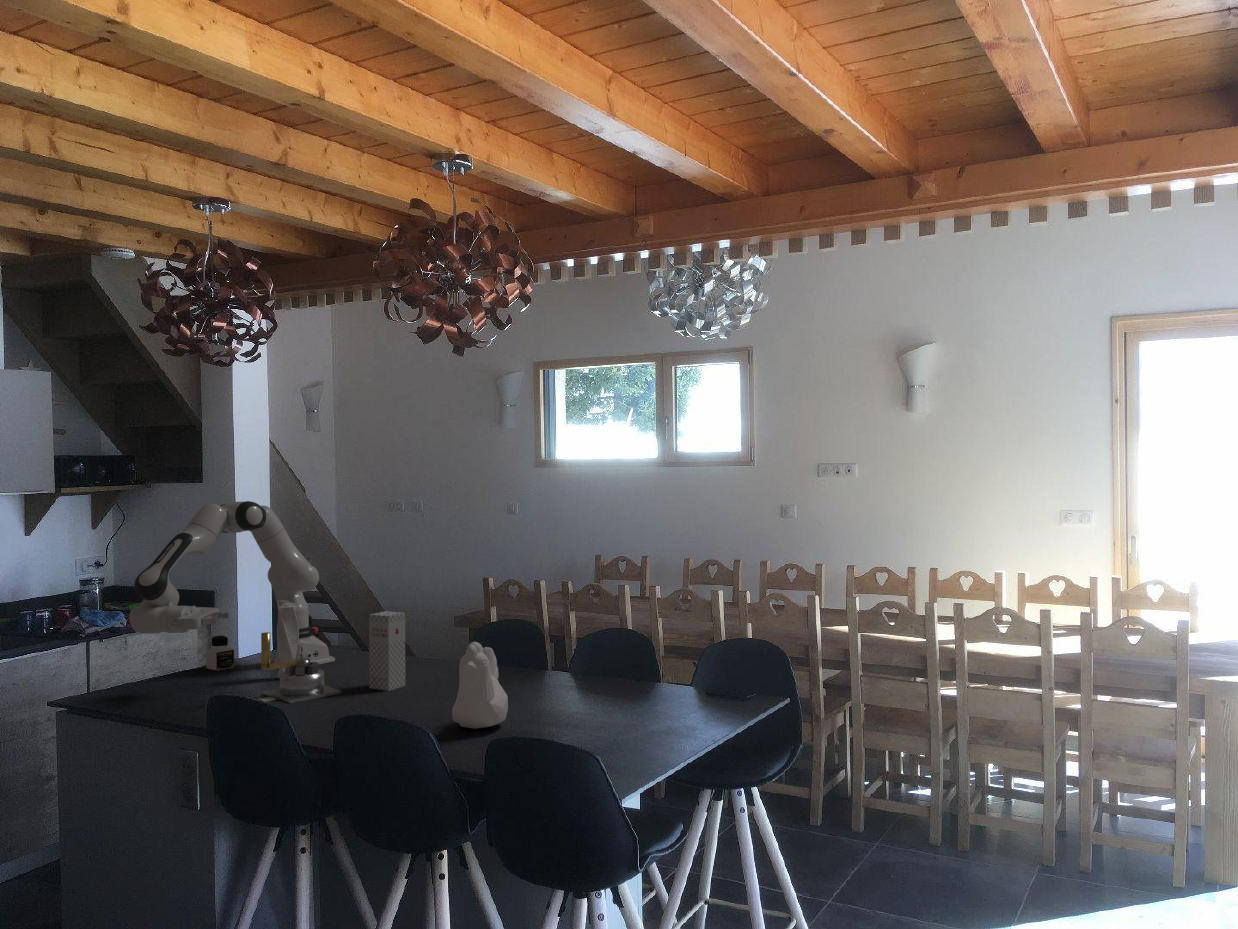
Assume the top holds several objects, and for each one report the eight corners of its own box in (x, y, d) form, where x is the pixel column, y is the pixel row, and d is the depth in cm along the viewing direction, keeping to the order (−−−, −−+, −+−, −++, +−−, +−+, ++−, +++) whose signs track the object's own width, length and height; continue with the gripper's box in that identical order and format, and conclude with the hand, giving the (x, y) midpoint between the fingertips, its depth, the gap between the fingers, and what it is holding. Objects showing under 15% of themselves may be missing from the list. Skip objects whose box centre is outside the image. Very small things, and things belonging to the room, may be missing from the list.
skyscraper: (285, 681, 343) (284, 601, 343) (271, 678, 348) (271, 599, 348) (305, 677, 350) (305, 599, 350) (292, 674, 355) (292, 597, 355)
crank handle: (310, 667, 332) (310, 625, 332) (323, 672, 324) (323, 629, 324) (255, 675, 320) (255, 631, 320) (267, 680, 312) (267, 635, 312)
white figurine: (489, 737, 272) (489, 647, 272) (440, 732, 277) (439, 644, 277) (529, 715, 295) (528, 633, 295) (482, 711, 301) (482, 630, 301)
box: (405, 685, 336) (405, 612, 336) (388, 690, 328) (388, 616, 328) (386, 683, 340) (386, 611, 340) (369, 688, 332) (369, 614, 332)
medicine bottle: (216, 671, 361) (216, 638, 361) (206, 668, 366) (206, 636, 366) (234, 667, 367) (234, 635, 367) (223, 665, 371) (223, 633, 371)
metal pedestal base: (313, 685, 337) (313, 665, 337) (340, 693, 325) (340, 672, 325) (263, 694, 324) (263, 673, 324) (290, 703, 312) (290, 681, 312)
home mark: (269, 698, 319) (269, 696, 319) (276, 700, 316) (276, 699, 316) (256, 700, 316) (256, 699, 316) (263, 702, 313) (263, 701, 313)
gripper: (167, 615, 313) (211, 613, 314) (192, 604, 334) (233, 603, 334) (168, 634, 314) (211, 633, 314) (193, 623, 334) (234, 621, 334)
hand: (223, 617), depth 324 cm, fingers open, 8 cm apart
